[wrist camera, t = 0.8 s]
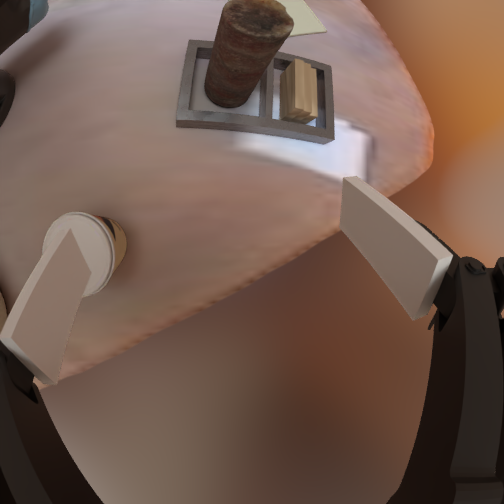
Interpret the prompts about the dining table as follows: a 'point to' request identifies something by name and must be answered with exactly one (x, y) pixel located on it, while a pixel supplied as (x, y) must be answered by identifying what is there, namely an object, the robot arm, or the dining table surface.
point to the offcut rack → (264, 121)
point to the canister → (2, 313)
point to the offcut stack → (298, 93)
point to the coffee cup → (93, 245)
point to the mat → (302, 18)
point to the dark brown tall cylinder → (244, 48)
